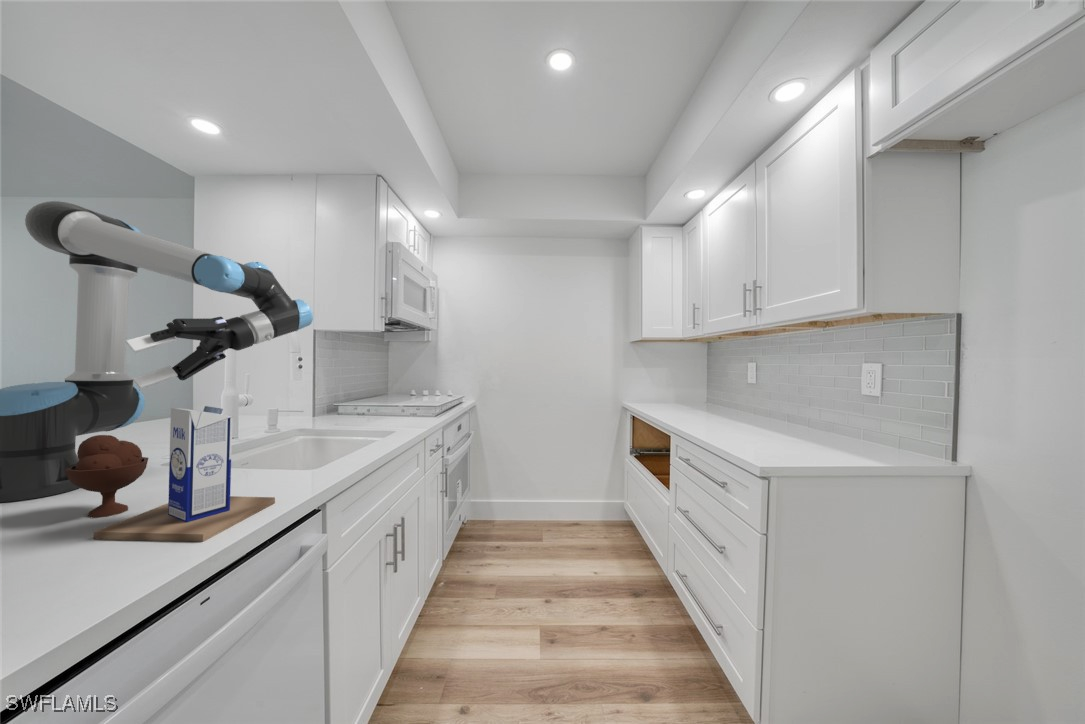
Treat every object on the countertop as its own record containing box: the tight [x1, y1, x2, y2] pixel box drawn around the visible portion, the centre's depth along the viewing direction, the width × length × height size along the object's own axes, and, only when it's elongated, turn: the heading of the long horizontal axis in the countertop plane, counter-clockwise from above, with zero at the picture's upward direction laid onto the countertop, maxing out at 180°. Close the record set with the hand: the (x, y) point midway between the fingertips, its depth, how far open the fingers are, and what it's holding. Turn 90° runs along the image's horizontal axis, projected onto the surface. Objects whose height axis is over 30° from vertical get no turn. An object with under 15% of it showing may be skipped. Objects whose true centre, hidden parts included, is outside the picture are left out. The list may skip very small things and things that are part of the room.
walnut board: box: [92, 495, 276, 543], centre depth 75 cm, size 18×18×1 cm
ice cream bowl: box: [65, 434, 149, 519], centre depth 77 cm, size 11×11×15 cm
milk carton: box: [167, 405, 233, 522], centre depth 75 cm, size 7×7×20 cm
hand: (133, 366), depth 81 cm, fingers open, 13 cm apart
